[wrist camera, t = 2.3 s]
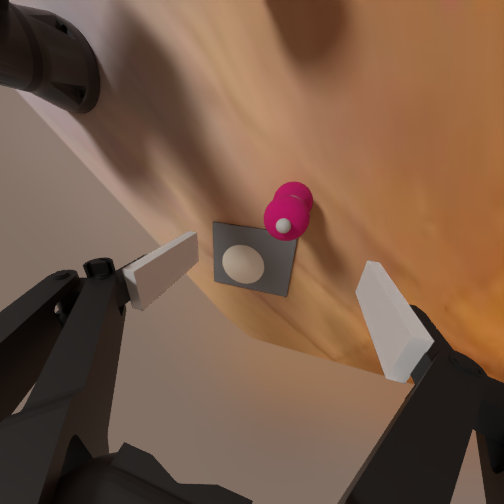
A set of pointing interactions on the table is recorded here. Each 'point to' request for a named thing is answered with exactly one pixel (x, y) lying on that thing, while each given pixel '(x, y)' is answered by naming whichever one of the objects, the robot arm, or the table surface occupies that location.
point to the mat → (252, 258)
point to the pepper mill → (289, 211)
